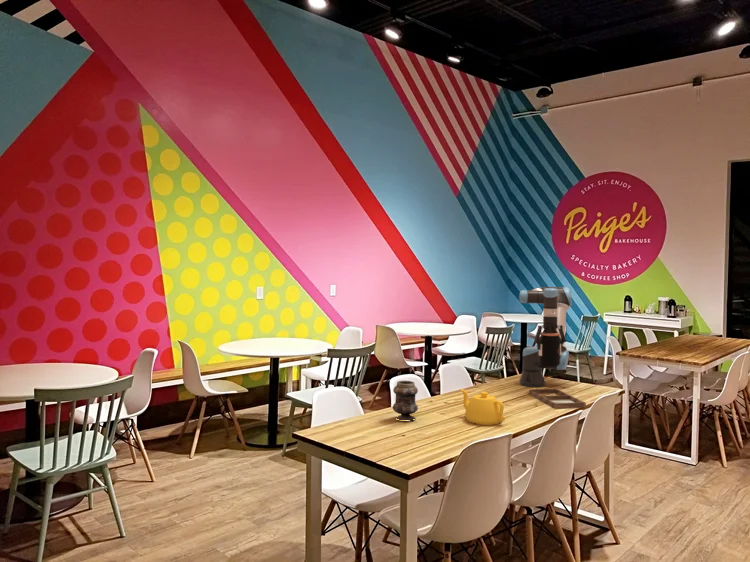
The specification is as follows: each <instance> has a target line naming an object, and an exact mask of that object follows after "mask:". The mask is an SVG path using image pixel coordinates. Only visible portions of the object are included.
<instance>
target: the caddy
mask: <svg viewBox="0 0 750 562" xmlns="http://www.w3.org/2000/svg"><path fill="white" fill-rule="evenodd" d="M548 394H556V395H548ZM528 395H530V396H532V397H533V398H535V399H537V400H539V401H541V402H543V403H544V404H546V405H548V406H549V407H551V408H552V409H555V410H558V409H559V410H560V409H580V408H581V409H585V408H587V402H585V401H583V400H582V399H579V398H577V397H575V396H573V395H571V394H569V393H567V392H564V391H562V390H560V389H559V388H538V389H537V388H536V389H534V388H532V389H528Z"/></svg>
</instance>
